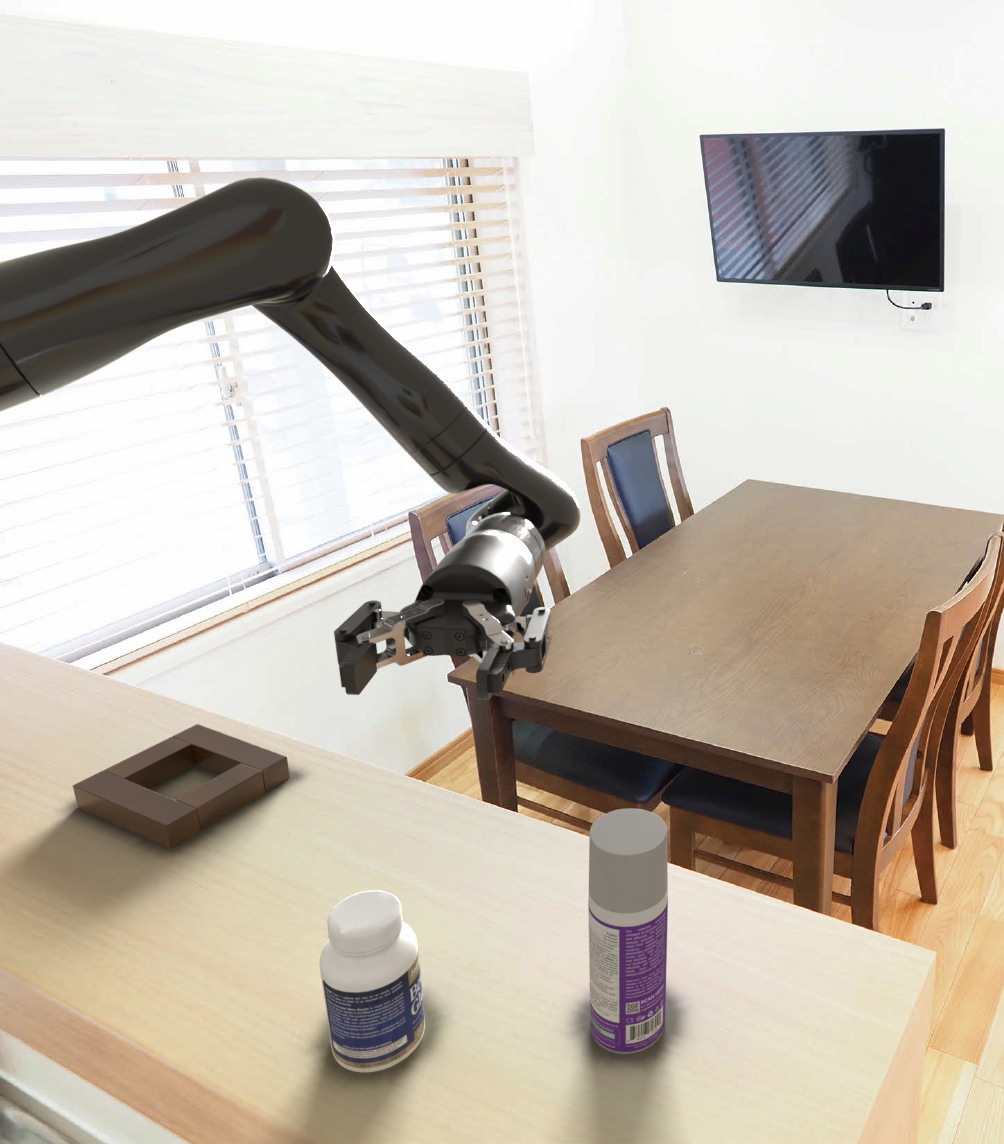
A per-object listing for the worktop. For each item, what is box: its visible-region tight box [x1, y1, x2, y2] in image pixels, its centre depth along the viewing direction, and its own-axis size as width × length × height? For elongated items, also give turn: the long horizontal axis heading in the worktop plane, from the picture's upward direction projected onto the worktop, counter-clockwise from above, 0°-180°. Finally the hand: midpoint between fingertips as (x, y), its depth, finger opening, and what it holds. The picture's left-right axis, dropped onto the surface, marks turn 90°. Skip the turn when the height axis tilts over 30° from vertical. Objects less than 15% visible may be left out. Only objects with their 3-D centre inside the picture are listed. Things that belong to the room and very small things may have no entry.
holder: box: [72, 723, 291, 850], centre depth 80 cm, size 11×11×2 cm
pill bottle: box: [319, 890, 426, 1073], centre depth 58 cm, size 5×5×10 cm
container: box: [587, 808, 669, 1055], centre depth 58 cm, size 5×5×15 cm
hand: (416, 685), depth 63 cm, fingers open, 8 cm apart
